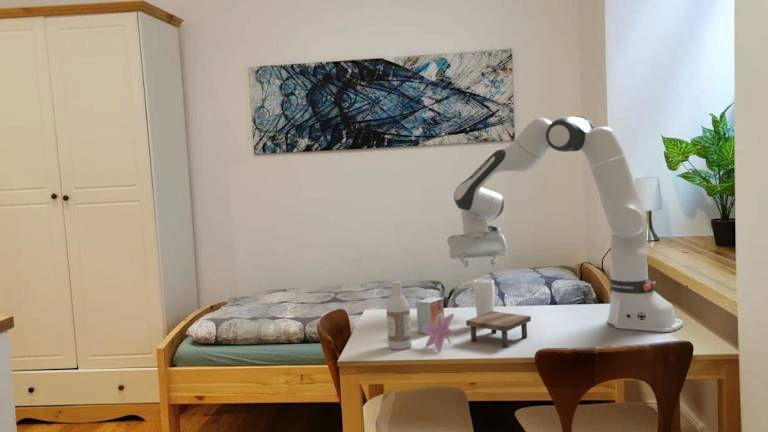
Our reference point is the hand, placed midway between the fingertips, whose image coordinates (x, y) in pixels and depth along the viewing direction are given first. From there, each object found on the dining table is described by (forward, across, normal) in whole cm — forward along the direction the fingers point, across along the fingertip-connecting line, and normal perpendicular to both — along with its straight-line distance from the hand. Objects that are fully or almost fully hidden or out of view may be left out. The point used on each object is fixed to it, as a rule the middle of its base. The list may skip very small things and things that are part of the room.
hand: (479, 265), depth 232 cm
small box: (+24, -18, +1) cm, 30 cm away
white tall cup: (+21, 0, +4) cm, 22 cm away
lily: (+37, -16, -11) cm, 42 cm away
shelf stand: (+34, +2, -8) cm, 35 cm away
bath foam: (+36, -28, -10) cm, 47 cm away
